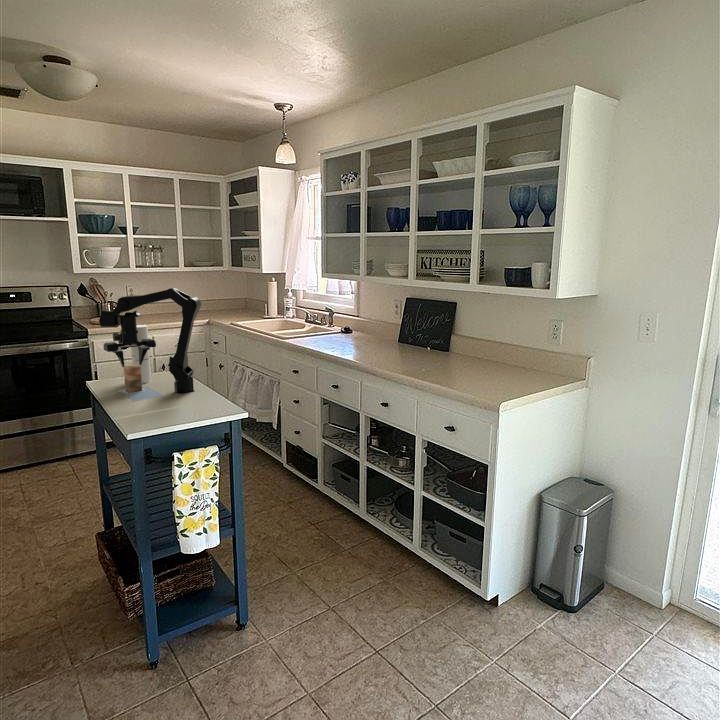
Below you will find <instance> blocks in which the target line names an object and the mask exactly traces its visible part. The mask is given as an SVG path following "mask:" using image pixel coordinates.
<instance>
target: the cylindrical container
mask: <svg viewBox="0 0 720 720" xmlns="http://www.w3.org/2000/svg"><path fill="white" fill-rule="evenodd" d="M136 325H137V331H138V333H137V339H138V341H139V342H141V341H142V339H149V331H148V330H149V329H148V328H149V327H148V325H147V324H146V325H144V324H136ZM138 347H140V346H137V347H130V352H131V353H130V354H131V366H132V365H137V366H139V367H141V378H142V379H141V382H142V385H143V384H148V383H151V382H152V374H151V358H150V350H147V352H146V354H145V356H144V359H143V361H142V364H141V365H139V350H138ZM148 348H149V347H148Z"/></svg>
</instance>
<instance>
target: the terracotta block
mask: <svg viewBox="0 0 720 720" xmlns="http://www.w3.org/2000/svg"><path fill="white" fill-rule="evenodd" d="M123 375H124V380H125V379H126V380H128V381H132V380H139V379H142V378H141V367H139V366H137V365H132V364H131V365H124V367H123Z"/></svg>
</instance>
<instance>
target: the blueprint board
mask: <svg viewBox="0 0 720 720" xmlns="http://www.w3.org/2000/svg"><path fill="white" fill-rule="evenodd" d="M118 392H119V393H120V394H121V395H124V396H125V397H126V398H128V399H129V400H131V401H133V402H136V401H142V400H149V399H155V398H161V397H165V396H166V395H165V394H163V393H161V392H159V391H158V390H155V389H154V388H152V387H150V386H148V385H147V386H145V385H144V386H142V391H139V392H133V393H129V392H127V391H126V390H125V389H120V390H118Z"/></svg>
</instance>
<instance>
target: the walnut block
mask: <svg viewBox="0 0 720 720" xmlns="http://www.w3.org/2000/svg"><path fill="white" fill-rule="evenodd" d="M142 387H143V384H142V382H141V379H139V380H132V381H128V380H126V379H125V378H124V390H126V391H127V392H129V393H133V392H139V391H142Z"/></svg>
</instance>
